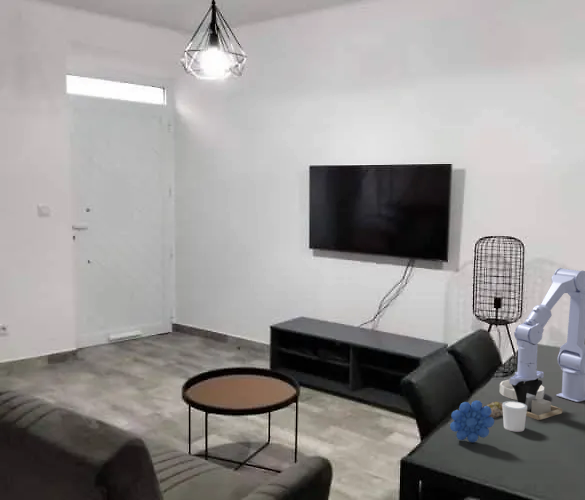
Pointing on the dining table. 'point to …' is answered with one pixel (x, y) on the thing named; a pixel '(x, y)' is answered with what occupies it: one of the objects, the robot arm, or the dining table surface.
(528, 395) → the matte grey cube
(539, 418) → the parts frame
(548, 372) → the dining table surface
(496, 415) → the mineral rock
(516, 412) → the white cup
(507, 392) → the bowl
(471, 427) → the blue knobbed flower
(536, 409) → the beige grey cube
